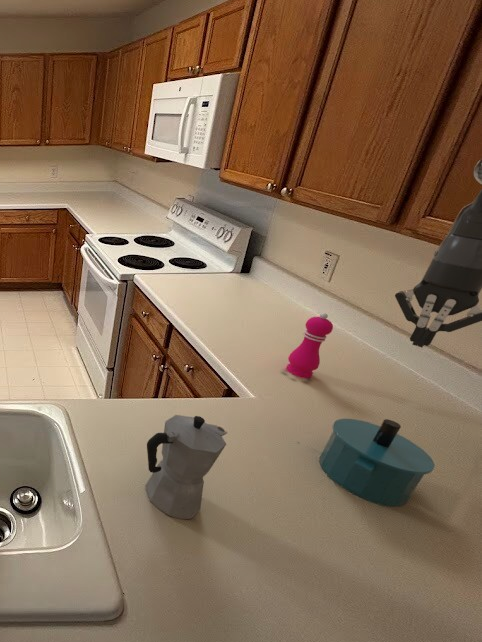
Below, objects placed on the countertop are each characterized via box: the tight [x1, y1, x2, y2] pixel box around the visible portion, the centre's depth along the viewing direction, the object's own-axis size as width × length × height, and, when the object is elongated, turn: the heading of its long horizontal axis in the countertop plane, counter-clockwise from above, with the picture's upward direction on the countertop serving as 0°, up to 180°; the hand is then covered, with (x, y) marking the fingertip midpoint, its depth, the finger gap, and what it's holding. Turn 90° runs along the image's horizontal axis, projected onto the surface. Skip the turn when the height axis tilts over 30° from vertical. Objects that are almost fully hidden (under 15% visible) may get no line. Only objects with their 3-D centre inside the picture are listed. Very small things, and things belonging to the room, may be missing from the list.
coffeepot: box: [145, 414, 228, 520], centre depth 71 cm, size 15×9×18 cm, turn 105°
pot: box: [319, 431, 425, 508], centre depth 82 cm, size 14×19×8 cm
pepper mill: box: [285, 312, 334, 379], centre depth 118 cm, size 7×7×20 cm
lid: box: [331, 418, 435, 476], centre depth 79 cm, size 15×15×6 cm
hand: (417, 345), depth 81 cm, fingers closed
